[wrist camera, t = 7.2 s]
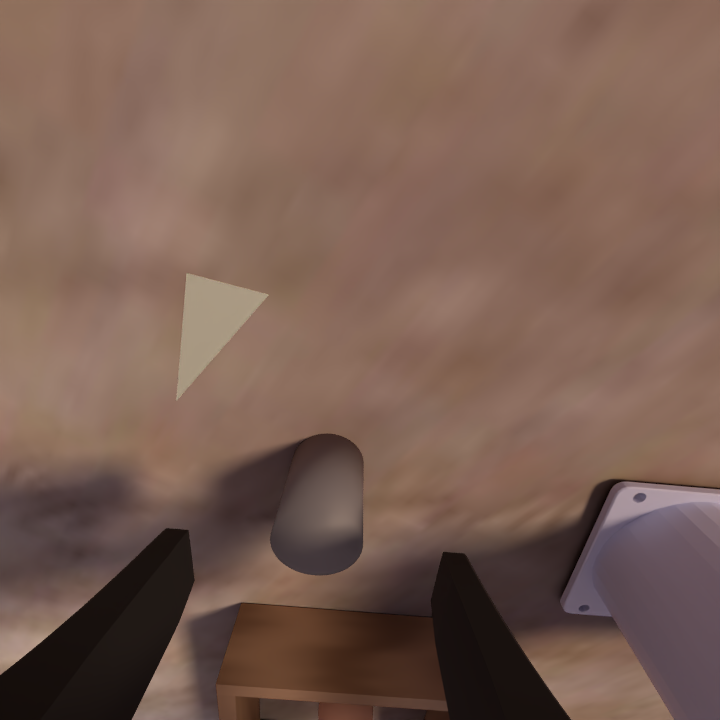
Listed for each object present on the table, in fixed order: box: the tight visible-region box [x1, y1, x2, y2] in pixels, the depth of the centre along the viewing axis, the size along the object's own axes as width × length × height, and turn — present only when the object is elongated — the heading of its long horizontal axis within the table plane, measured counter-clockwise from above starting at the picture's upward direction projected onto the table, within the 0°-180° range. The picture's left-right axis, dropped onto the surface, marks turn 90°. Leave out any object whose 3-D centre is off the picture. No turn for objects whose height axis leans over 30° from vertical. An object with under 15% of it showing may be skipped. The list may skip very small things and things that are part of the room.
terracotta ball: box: [318, 702, 373, 720], centre depth 20 cm, size 3×3×3 cm
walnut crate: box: [216, 603, 450, 720], centre depth 20 cm, size 12×12×4 cm
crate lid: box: [176, 273, 363, 575], centre depth 14 cm, size 13×13×5 cm
